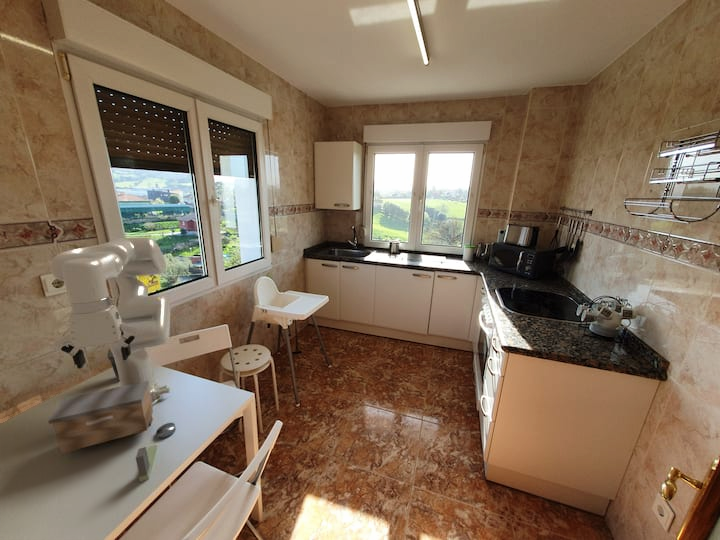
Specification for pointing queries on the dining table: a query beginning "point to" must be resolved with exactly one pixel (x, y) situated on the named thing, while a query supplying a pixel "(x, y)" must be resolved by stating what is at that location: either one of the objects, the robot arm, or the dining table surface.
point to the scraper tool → (145, 461)
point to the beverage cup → (113, 363)
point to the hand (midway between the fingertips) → (104, 361)
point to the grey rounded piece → (166, 430)
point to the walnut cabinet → (102, 416)
